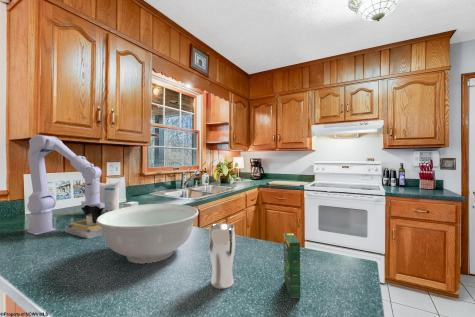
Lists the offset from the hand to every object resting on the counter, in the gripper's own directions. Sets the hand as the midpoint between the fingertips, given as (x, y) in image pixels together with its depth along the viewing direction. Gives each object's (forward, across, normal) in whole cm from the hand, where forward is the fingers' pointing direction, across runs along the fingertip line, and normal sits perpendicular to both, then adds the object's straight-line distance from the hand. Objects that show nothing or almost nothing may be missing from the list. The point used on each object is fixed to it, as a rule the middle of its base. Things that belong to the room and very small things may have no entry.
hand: (92, 222), depth 111 cm
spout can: (+2, 0, 0) cm, 2 cm away
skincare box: (+4, +11, +12) cm, 17 cm away
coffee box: (+4, +95, -8) cm, 95 cm away
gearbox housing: (+4, 0, 0) cm, 4 cm away
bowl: (+4, +46, -8) cm, 47 cm away
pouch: (+4, -24, +23) cm, 34 cm away
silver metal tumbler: (+4, +78, -13) cm, 79 cm away
